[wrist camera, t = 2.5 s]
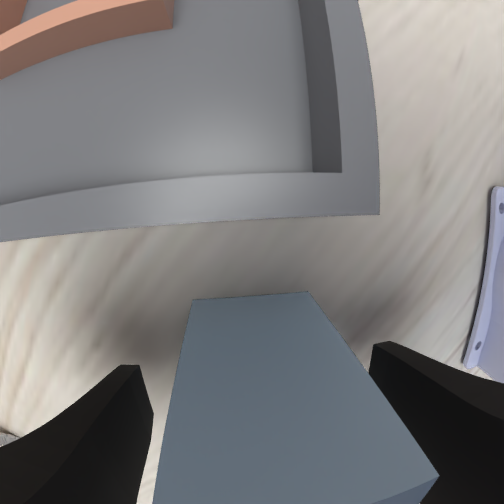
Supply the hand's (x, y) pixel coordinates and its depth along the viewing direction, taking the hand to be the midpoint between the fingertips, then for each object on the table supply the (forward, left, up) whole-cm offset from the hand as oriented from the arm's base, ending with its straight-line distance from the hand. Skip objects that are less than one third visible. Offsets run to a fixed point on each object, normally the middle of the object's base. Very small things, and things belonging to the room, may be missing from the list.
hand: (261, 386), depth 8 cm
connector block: (0, 0, -2) cm, 2 cm away
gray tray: (+15, +6, -2) cm, 16 cm away
